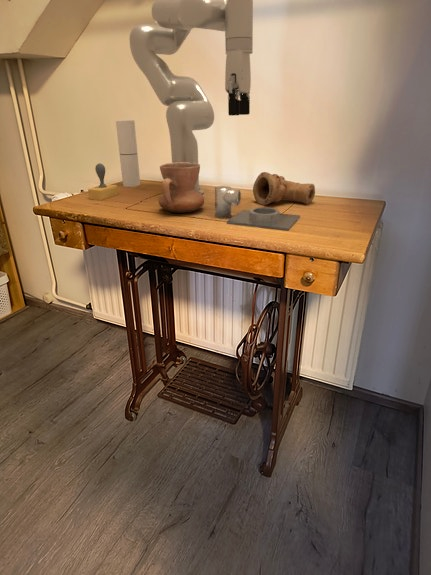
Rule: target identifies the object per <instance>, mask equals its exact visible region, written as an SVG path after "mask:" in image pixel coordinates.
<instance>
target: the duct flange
mask: <svg viewBox="0 0 431 575" xmlns="http://www.w3.org/2000/svg"><path fill="white" fill-rule="evenodd" d="M300 218H301V215H298V214H292V213H291V214H290V213H289V214H288V213H280V210H279V209H277V208H275V207H268V206H267V207H265V206H263V207H262V206H261V207H254V208H250V209H249V210H248V209H242V210H241V211H240V212H238V213H237V214H235V215H234V216H231V217H230V218H228V220H226V224H227V225H237V226H245V227H252V228H253V227H255V228H261V229H262V228H263V229H270V230H271V229H272V230H279V231H290V229H291V228H292V227H293V226H294V225H295V224H296V223H297V222H298V220H299V219H300Z"/></svg>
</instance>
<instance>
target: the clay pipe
mask: <svg viewBox="0 0 431 575" xmlns="http://www.w3.org/2000/svg"><path fill="white" fill-rule="evenodd" d="M252 192H253V197H254V199H255V201H256V202H257V203H258V204H259V205H260V206H266V205H269V204H270V203H271V204H272V203H276V204H277V203H278V202H280V201H282V200H284V201H285V200H287V201H293V202H301V203H302V204H305V205H307V204H311V202H313V200H314V198H315V196H316V187H315V184H314V183H300V182H295V181H291V180H290V181H289V180H286V179H285V177H284V176H282V175H279V174H276V173H272V174H271V173H269V172H265V171H263V172H260V173H259V175H258V176H257V177H256V178H255V180H254V183H253V187H252Z"/></svg>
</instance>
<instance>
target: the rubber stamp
mask: <svg viewBox="0 0 431 575" xmlns="http://www.w3.org/2000/svg"><path fill="white" fill-rule="evenodd" d="M94 169H95V173H96V175H97V177H98V179H99V182H100V184H99V185H97V186H95V187H94V186H93V187H90V188H88V189H87V191H88V192H87V193H88V197H89V198H88V200H92V199H94V201H104V200H106V199H110V198H112V197H116V196H118V195H119V188H118V185H117V184H110V183H109V184H108V183H105V176H106V167H105V166H104V164H103V163H101V162H100V163H97V164H96V165H95V168H94Z"/></svg>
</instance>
